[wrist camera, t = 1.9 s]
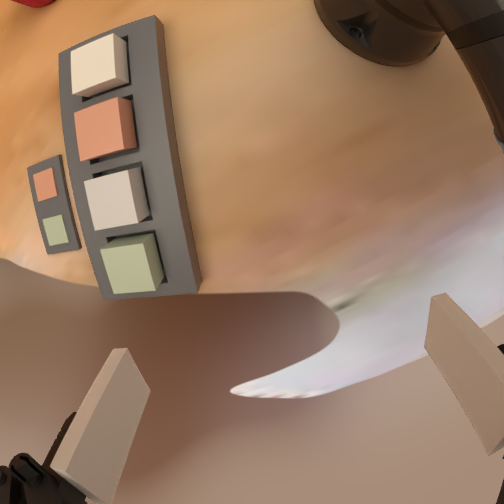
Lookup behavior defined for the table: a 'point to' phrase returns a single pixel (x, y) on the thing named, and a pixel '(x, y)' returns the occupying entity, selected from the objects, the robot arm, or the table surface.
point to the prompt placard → (53, 206)
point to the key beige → (117, 199)
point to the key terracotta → (105, 129)
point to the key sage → (133, 264)
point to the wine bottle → (33, 2)
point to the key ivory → (99, 66)
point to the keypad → (137, 161)
